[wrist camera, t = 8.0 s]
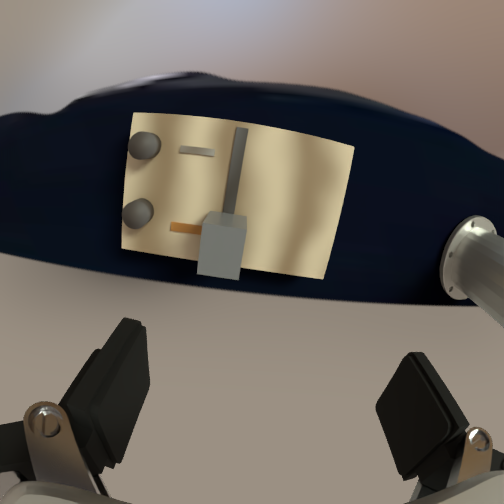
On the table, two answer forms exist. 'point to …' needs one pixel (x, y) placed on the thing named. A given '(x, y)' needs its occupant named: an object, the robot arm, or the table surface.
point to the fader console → (234, 189)
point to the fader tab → (222, 245)
